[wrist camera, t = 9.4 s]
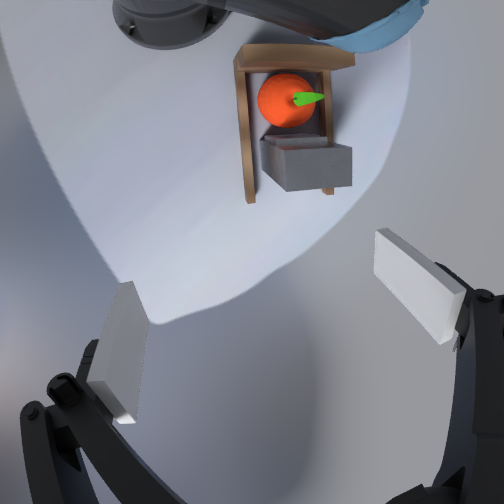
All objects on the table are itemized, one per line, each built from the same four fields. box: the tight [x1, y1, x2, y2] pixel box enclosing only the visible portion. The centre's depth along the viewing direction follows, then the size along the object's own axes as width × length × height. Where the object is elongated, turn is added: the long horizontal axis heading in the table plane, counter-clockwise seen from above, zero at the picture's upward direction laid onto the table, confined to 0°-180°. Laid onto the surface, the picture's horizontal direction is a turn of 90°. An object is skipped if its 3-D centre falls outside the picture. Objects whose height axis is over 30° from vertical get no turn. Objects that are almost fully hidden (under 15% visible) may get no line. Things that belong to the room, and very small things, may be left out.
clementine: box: [257, 74, 324, 128], centre depth 32 cm, size 8×7×7 cm
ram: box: [260, 133, 352, 192], centre depth 33 cm, size 5×7×12 cm, turn 95°
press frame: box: [233, 44, 355, 204], centre depth 33 cm, size 19×12×9 cm, turn 5°
